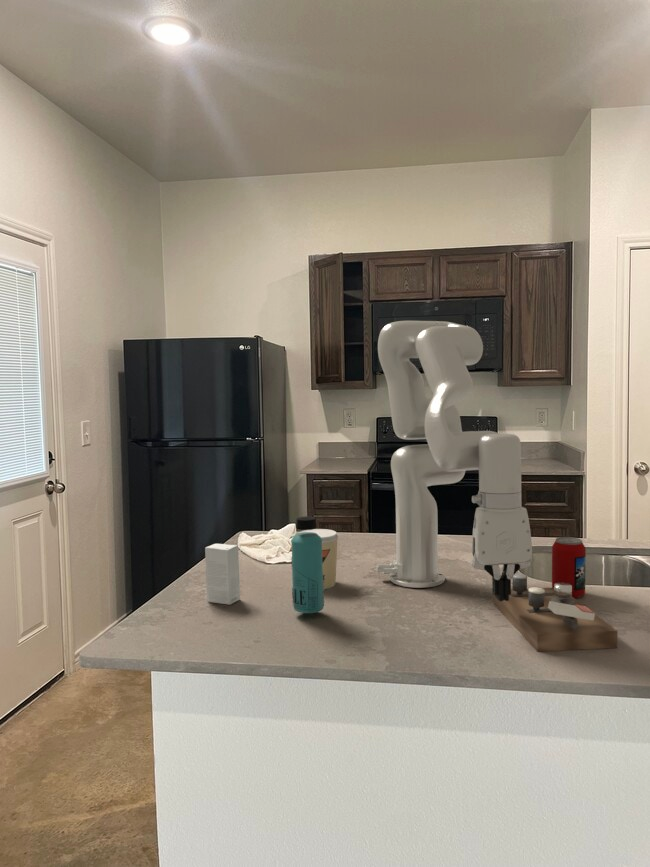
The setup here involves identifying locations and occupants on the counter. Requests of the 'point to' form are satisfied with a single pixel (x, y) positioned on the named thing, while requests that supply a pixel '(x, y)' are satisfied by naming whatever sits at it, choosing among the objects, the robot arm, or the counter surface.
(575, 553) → the beverage can
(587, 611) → the block
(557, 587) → the button
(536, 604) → the lever ivory
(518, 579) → the lever grey
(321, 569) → the beverage bottle
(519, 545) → the robot arm
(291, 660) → the counter surface
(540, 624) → the console
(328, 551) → the coffee cup
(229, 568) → the skincare box
